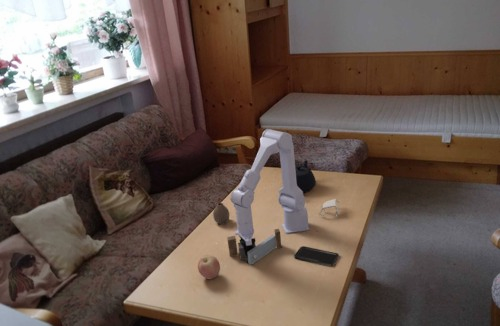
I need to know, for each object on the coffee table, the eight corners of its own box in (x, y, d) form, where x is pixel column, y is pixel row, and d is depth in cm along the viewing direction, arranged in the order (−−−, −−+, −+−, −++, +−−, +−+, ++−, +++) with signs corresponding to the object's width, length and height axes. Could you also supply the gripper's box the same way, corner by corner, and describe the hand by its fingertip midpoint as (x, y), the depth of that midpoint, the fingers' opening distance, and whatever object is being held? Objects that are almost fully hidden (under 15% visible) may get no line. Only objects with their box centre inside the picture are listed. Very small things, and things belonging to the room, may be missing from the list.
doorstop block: (255, 251, 174) (253, 240, 173) (256, 257, 171) (255, 245, 169) (239, 254, 174) (238, 242, 172) (240, 260, 170) (239, 248, 168)
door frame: (280, 244, 177) (278, 228, 175) (281, 247, 175) (280, 231, 173) (229, 252, 175) (227, 237, 173) (229, 256, 173) (227, 240, 170)
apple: (196, 274, 164) (193, 255, 161) (216, 267, 167) (214, 249, 164) (203, 286, 158) (200, 266, 155) (224, 279, 160) (221, 260, 157)
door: (273, 246, 176) (272, 235, 174) (278, 248, 175) (277, 236, 173) (248, 263, 167) (247, 252, 165) (253, 265, 166) (251, 254, 164)
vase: (228, 226, 194) (225, 207, 191) (212, 226, 196) (209, 207, 192) (231, 218, 200) (229, 200, 197) (216, 218, 202) (214, 200, 199)
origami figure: (336, 221, 190) (336, 210, 188) (317, 218, 194) (317, 207, 192) (345, 208, 200) (345, 198, 198) (327, 205, 203) (327, 195, 202)
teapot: (308, 201, 208) (307, 177, 204) (276, 198, 214) (274, 174, 210) (322, 179, 229) (321, 156, 225) (292, 176, 235) (291, 154, 231)
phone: (301, 245, 174) (339, 253, 167) (301, 248, 174) (339, 256, 167) (293, 256, 168) (332, 265, 160) (293, 259, 168) (332, 268, 161)
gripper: (231, 212, 173) (235, 243, 178) (236, 231, 159) (240, 264, 165) (249, 209, 174) (253, 240, 179) (256, 228, 160) (259, 261, 165)
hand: (248, 251), depth 172 cm, fingers closed on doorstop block, 4 cm apart
